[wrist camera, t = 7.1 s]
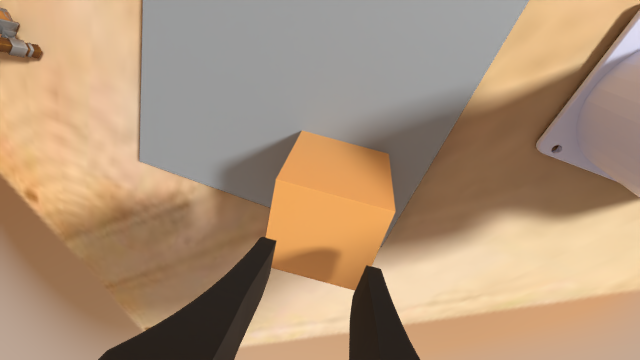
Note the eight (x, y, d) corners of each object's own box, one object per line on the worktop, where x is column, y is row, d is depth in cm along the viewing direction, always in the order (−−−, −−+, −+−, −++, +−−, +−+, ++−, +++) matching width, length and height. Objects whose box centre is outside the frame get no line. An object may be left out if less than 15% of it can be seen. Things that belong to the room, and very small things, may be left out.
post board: (545, -44, 14) (635, -68, 9) (380, 238, 23) (383, 298, 18) (161, -201, 13) (46, -313, 9) (148, 155, 22) (89, 196, 18)
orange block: (388, 153, 19) (395, 211, 14) (362, 222, 21) (359, 291, 16) (302, 130, 19) (275, 179, 14) (287, 201, 21) (260, 264, 16)
